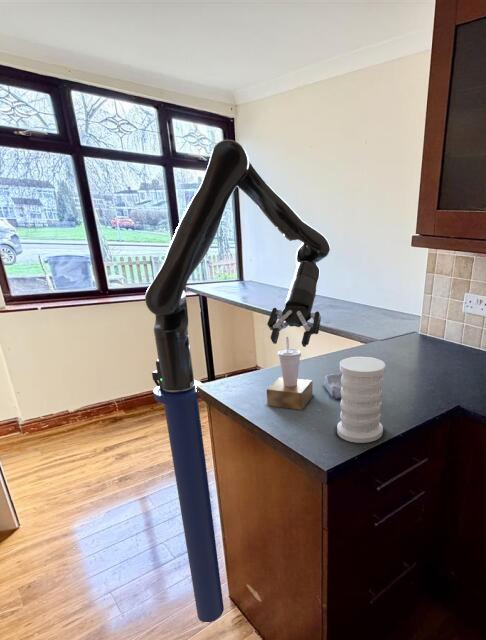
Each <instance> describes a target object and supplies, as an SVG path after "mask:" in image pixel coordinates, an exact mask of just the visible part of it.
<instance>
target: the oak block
mask: <svg viewBox="0 0 486 640" xmlns="http://www.w3.org/2000/svg"><path fill="white" fill-rule="evenodd" d="M312 397H313V379H303V378H297V385H296V386H293V387H287V386H284V383H283V377H282V376H279V377H278V378H277V379H276V380H275V381H274V382H273V383H272V384H271V385H270V386H268V387H267V388H266V401H267V405H266V406H267V407H277V408H282V409H283V408H284V409H292V410H300V411H301V410H303V409H304V407H306V405H307V404H308V402H309V401H310V400H311V398H312Z"/></svg>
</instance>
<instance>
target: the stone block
mask: <svg viewBox="0 0 486 640" xmlns="http://www.w3.org/2000/svg"><path fill="white" fill-rule="evenodd" d="M341 376H342V373H331V374H327V375H325V376H324V379H323V380H324V381H323V382H324V383H323V384H324V387H325V389H326V391H327V392H328V393H329V395H330V396H331V397H332V398H333V399H335V400H341V399H342V396H341V392H340V391H341V388H342V383H341Z"/></svg>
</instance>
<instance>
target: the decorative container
mask: <svg viewBox="0 0 486 640" xmlns="http://www.w3.org/2000/svg"><path fill="white" fill-rule="evenodd" d="M386 366H387V365H386V362H385V361H384V360H381V359H378V358H375V357H372V356H371V357H370V356H350V357H346V358H343V359H341V360H340V361H339V370H340V372H341V374H342V376H341V383H342V388H341V391H340V392H341V396H342V399H340V402H339V406H340V409H341V411H340V414H339V419H340V421H339V422H338V423H337V425H336V433H337V435H338V437H340V438H341V439H343V440H345V441H347V442H350V443H357V444H365V443H371V442H375V441H377V440H379V439H380V438H382V436H383V433H384V426H383V424H382V423H381V422H380V421H381V418H382V414H381V409H382V406H383V405H382V400H381V399H382V396H383V389H382V386H383V384H384V379H383V378H384V377H383V374H384V373H385V372H386V369H387V368H386Z"/></svg>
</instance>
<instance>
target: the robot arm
mask: <svg viewBox="0 0 486 640" xmlns="http://www.w3.org/2000/svg"><path fill="white" fill-rule="evenodd" d="M204 173H205V174H204V176H203V179H202V181H201V184H200V185H199V188H198V190H197V191H196V193H195V194H194V196H193V197H192V199H191V201H190V202H189V204H188V205H187V208H186V209H185V211H184V213H183V215H182V217H181V219H180V221H179V223H178V226H177V227H176V229H175V231H174V232H175V233H174V235H173V237H172V240H171V242H170V245H169V246H168V249H167V253H166V255H165V258H164V260H163V263H162V265H161V267H160V269H159V271H158V272H157V274H156V275H155V277H154V279H153V280H152V282H151V284H150V285H149V287H148V288H147V290H146V292H145V296H144V300H145V305H146V307H147V309H148V310H149V311H150V312H151V313H152V314H153V315H154V316H155V321H154V326H153V335H154V341H155V348H156V354H157V360H156V361H155V368H156V370H154V371H151V375H152V381H153V382H154V384H155V385H156V387H157V386H158V387H159V386H160V390H163V391H164V392H166V393H170V394H178V393H185V392H188V391H191V390H193V389H194V388H195V382H194V380H195V378H194V368H193V361H192V354H191V353H192V352H191V344H190V337H189V312H188V302H187V296H186V293H185V292H186V291H185V288H186V286H187V284H188V281H189V280H190V278H191V276H192V274H193V273H194V272H195V270H196V269H197V268H198V266H199V265H200V263H202V261H203V259H204V258H205V256H206V255H207V253H208V252H209V250H210V248H211V246H212V244H213V242H214V241H215V238H216V236H217V233H218V231H219V229H220V226H221V223H222V220H223V217H224V213H225V210H226V208H227V205H228V202H229V200H230V199H231V196H232V194H234V191H235V189H236V188H239V189H240V190H241V191H242V192H243V193H244V194H246V196H247V197H248V198H250V200H251V201H252V202H253V203H254V204H255V205H256V207H257V208H258V209H259V210H260V211H261V212H262V213H263V215H264V216H265V217H266V218H267V220H268V221H269V222H270V223H271V224H272V225H273V226H274V228H276V229H277V230H278V232H279V233H280V234H282V236H284V238H286V240H288V241H289V242H293V241H300V242H302V243H301V244H300V245H299V246H298V248H297V251H296V253H295V265H296V268H295V272H294V275H293V278H292V281H291V283H290V286H289V290H288V293H287V297H286V300H285V304H284V308H283V309H282V310H281V309H277V307H273V308H272V309H271V313H270V315H269V318H268V321H267V323H266V325H267V326H268V328H269V330H270V331H271V334H270V340H271V342H272V344H274V345H276V344H277V343H278V340H279V337H280V332H281V331H282V330H284V329H286V328H287V327H288V326H289V327H297V328H301V327H303V330H304V332H303V335H302V339H301V345H302V348H306V347H307V346H308V345H309V343H310V339H311V336H312V335H318V334H319V333H320V326H321V320H322V317H321V313H320V311H317V310H316V311H315V312H312V310H313V306H314V302H315V298H316V294H317V286H318V282H319V278H320V274H321V273H320V271H321V269H320V267H319V266H318V264H317V263H318V262H320V261H322V260H323V259H325V258H327V257H328V256H329V255H330V252H331V245H330V243H329V241H328V239H327V238H326V237H325V235H323V234H322V233H321V232H320V231H318V230H317V229H315V228H314V227H312V226H311V225H310V224H308V223H307V222H305V221H303V220H302V218H301V217H300V216H299V215H298V214H297V212H296V211H294V209H293V208H291V206H290V205H289V204H288V203H287V202H286V201H285V200H284V199H283V198H282V197H281V196H280V195H279V194H277V192H275V190H274V189H273V188H272V187H271V186H269V184H268V183H267V182H266V181H265V180H264V178H263V177H262V176H261V175H260V174H259V172H258V171H257V169H255V167H254V166H253V164H252V162H251V161H250V159H249V155H248V154H247V151H246V149H245V148H244V147H243V146H242V145H241V144H240V143H239V142H237V141H236V140H232V139H223V140H221V141H218V142H217V143H216V144H215V145H214V146H213V148H212V151H211V154H210V158H209V161H208V165H207V168H206V170H205V172H204ZM311 319H312V323H313V324H312V327H310V326H309V324H308V322H309V321H310V320H311Z"/></svg>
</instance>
